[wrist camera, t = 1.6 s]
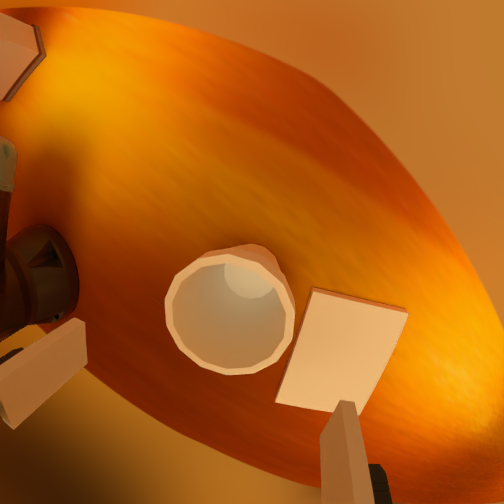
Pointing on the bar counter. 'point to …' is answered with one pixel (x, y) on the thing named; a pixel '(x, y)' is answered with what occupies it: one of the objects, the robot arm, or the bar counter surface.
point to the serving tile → (339, 351)
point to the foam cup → (231, 310)
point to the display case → (17, 54)
